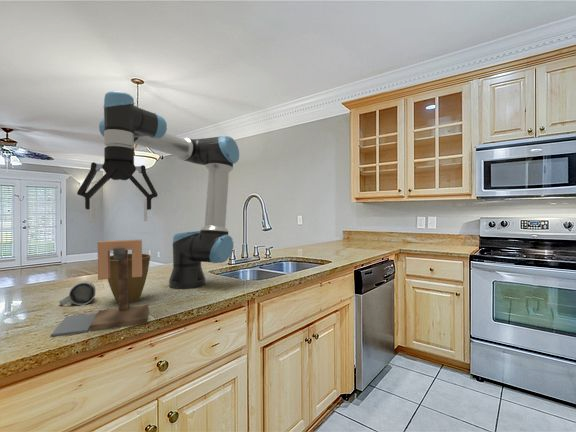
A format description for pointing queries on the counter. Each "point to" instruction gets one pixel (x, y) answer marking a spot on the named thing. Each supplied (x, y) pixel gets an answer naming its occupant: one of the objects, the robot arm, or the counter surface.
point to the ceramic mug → (80, 293)
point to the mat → (74, 325)
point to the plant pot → (133, 282)
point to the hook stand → (121, 302)
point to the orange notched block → (108, 246)
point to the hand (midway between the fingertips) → (119, 221)
